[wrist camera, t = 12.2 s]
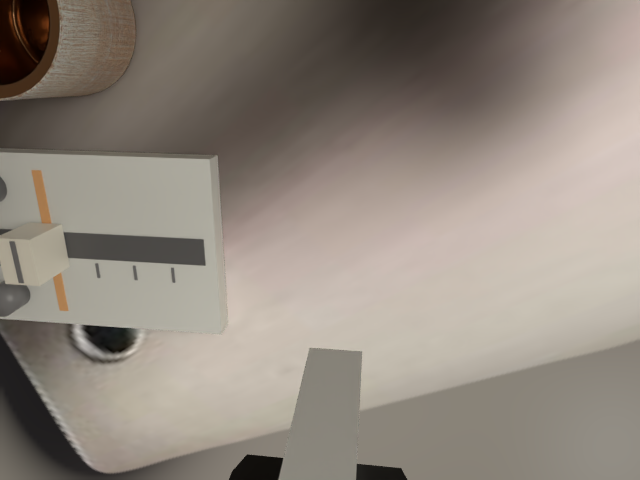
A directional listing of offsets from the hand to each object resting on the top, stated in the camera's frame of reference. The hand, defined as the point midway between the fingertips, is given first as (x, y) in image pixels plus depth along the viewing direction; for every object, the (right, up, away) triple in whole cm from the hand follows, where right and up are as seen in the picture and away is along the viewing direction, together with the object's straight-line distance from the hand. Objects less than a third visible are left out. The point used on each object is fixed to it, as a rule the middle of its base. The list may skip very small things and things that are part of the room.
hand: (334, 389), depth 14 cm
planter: (-20, +21, +23) cm, 37 cm away
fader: (-24, +4, +27) cm, 37 cm away
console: (-20, +4, +29) cm, 36 cm away
